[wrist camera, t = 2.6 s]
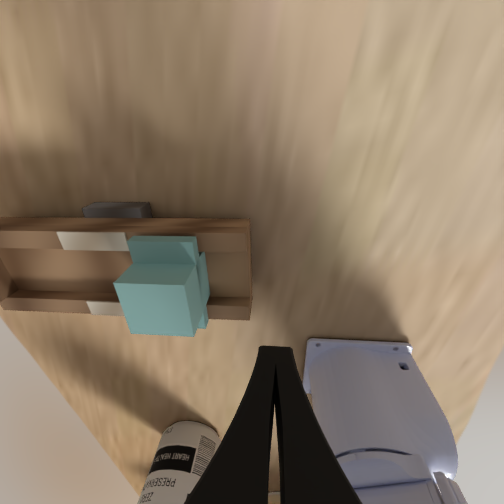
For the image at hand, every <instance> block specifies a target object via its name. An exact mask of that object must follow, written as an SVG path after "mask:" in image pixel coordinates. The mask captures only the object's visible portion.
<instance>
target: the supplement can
mask: <svg viewBox="0 0 504 504" xmlns="http://www.w3.org/2000/svg"><path fill="white" fill-rule="evenodd" d="M220 443H221V440H220V438H219V437H218V434H217V433H216V432H215V431H214V430H213V429H212V428H210V427H208V426H207V425H205V424H202V423H198V422H193V421H180V422H177V423H174V424H172V426H170V427H168V428H167V429H166V430H165V431H164V432H163V434H162V437H161V440H160V443H159V445H158V448H157V451H156V454H155V456H154V459H153V462H152V465H151V467H150V470H149V473H148V476H147V479H146V481H145V484H144V487H143V490H142V492H141V495H140V498H139V501H138V503H137V504H184V502H185V501H186V499H187V498H188V496H189V494H190V493H191V491H192V490H193V488H194V487H195V485H196V484H197V482H198V481H199V479H200V477H201V476H202V474H203V473H204V471H205V469H206V468H207V466H208V464H209V463H210V461H211V459H212V457H213V456H214V454H215V452H216V450H217V449H218V447H219V445H220Z"/></svg>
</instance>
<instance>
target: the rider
mask: <svg viewBox="0 0 504 504" xmlns="http://www.w3.org/2000/svg"><path fill="white" fill-rule="evenodd" d="M127 244H128V248H129V251H130V254H131V258H132V261H133V264H132V265H131V266H130V267H129V268H128V269H127V270H126V271H125V272H124V273H123V274H122V275H121V276H120V277H119V278H118V279H117V280H116V281H115V282H114V283H113V284H114V287H115V290H116V292H117V295H118V298H119V301H120V304H121V307H122V309H123V312H124V315H125V318H126V321H127V324H128V327H129V329H130V332H131V334H149V335H169V336H189V337H194V335H195V333H196V330H197V328H202V329H206V326H207V324H208V314H207V307H206V304H207V301H208V298H209V296H210V288H209V280H208V273H207V265H206V258H205V252H198V245H197V239H196V236H132V237H131V238H130V239H129V240H128V241H127Z"/></svg>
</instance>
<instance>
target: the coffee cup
mask: <svg viewBox="0 0 504 504" xmlns="http://www.w3.org/2000/svg"><path fill="white" fill-rule="evenodd" d="M268 504H280V492H270V493H268Z"/></svg>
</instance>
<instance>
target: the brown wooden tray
mask: <svg viewBox="0 0 504 504" xmlns="http://www.w3.org/2000/svg"><path fill="white" fill-rule="evenodd" d="M82 211H83V214H84V216H85V218H39V217H0V305H1V306H2V308H3V309H4V310H18V311H41V312H64V313H88V314H92V315H108V316H125V315H124V312H123V309H122V307H121V304H120V301H119V298H118V295H117V292H116V290H115V287H114V284H113V283H114V282H115V281H116V280H117V279H118V278H119V277H120V276H121V275H122V274H123V273H124V272H125V271H126V270H127V269H128V268H129V267H130V266H131V265H132V264H133V261H132V258H131V254H130V251H129V248H128V244H127V241H128V240H129V239H130V238H131V237H132V236H196V239H197V245H198V252H205V258H206V265H207V273H208V280H209V288H210V296H209V298H208V301H207V304H206V307H207V314H208V319H227V320H250V313H251V306H252V270H251V240H250V219H216V218H153V217H152V212H151V208H150V204H149V202H95V203H92V204H90V205H88V206H86V207H84V208H82Z"/></svg>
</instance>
